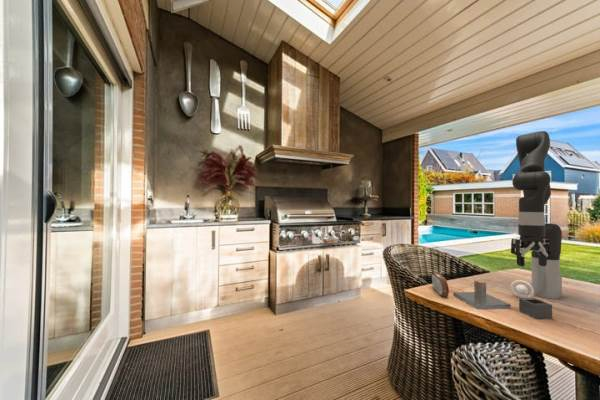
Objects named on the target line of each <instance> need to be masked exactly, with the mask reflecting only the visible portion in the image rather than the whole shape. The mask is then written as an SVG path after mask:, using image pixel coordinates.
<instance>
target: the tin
mask: <svg viewBox="0 0 600 400" xmlns="http://www.w3.org/2000/svg"><path fill="white" fill-rule="evenodd" d="M431 284H432V288H433V290H434V291H435V292H436V293H437V294H438V295H439V296H440V297H448V296H449V292H450V291H449V290H450V289H449V288H450V287H449V284H448V281H447V279H446V277H444V276H443V275H442V274H441V273H439V272H433V273H432V274H431Z"/></svg>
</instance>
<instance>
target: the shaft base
mask: <svg viewBox="0 0 600 400" xmlns="http://www.w3.org/2000/svg"><path fill="white" fill-rule="evenodd" d="M473 281H474V282H473V283H474V285H473V286H474V291H466V292H465V291H464V292H463V291H461V292H460V291H459V292H458V291H457V292H453V297H454V298H457V299H459V300H460V301H463V303H464V302H465V303H466V304H468V305H470V306H471V307H474V308H475V309H477V310H486V309H488V310H489V309H490V310H491V309H492V310H493V309H494V310H495V309H511V308H512V307H511V305H512V304H510V303H508V302H506V301H503V300H502V299H500V298H497V297H495V296H493V295H491V294H488V293H487V282H485V281H481V280H477V279H476V280H473Z"/></svg>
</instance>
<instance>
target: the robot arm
mask: <svg viewBox="0 0 600 400" xmlns="http://www.w3.org/2000/svg"><path fill="white" fill-rule="evenodd" d="M550 139H551V138H550V135H549V133H548V132H547V131H545V130H541V131H535V132H530V133H524V134H520V135H518V136H517V137H516V139H515V146H516V152H517V157H518V163H519V167H520V168H519V170H518V171H517V172H516V173H515V175H514V176H513V177H512V186H513V188H514V189H515V190H517V191H522V194H523V197H520V198H519V200H518V217H517V218H518V219H517V221H518V222H517V225H518V227H517V230H518V235H519V238H511V243H510V244H511V245H510V253H511V255H515V257H516V264H517V266H519V267H522V268H523V267H525V264H526V263H525V259H526V258H525V255H526V254H527V253H529V252H531V253H530V254H531V286H532V287H533V289H534V295H536V296H538V297H541V298H546V299H551V300H552V299H553V300H558V299H560V298H563V281H562V280H563V278H562V275H561V273H560V272H561V267H560V265H561V263H560V259H561V258H560V257H561V252H562V241H563V240H562V238H563V232H562V228H561V227H560V226H559V224H556V223H547V222H546V217H545V205H546V204H547V202H548V201H549V199H550V198H551V195H552V190H551V182H552V181H551V180H552V178H551V175H550V174H549V173H548V172H547V171H544V170H545V160H546V157H547V155H548V154H549V153H548V152H549V150H550V148H551V140H550Z"/></svg>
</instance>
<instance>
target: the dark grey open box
mask: <svg viewBox="0 0 600 400" xmlns="http://www.w3.org/2000/svg"><path fill="white" fill-rule="evenodd" d="M518 302H519V303H518V307H519V308H518V311H519V312H520V313H522V314H524V315H526V316H529V317H531V318H532V319H535V320H542V319H543V320H546V319H548V320H549V319H553V304H552V303H548V302H545V301H544V300H542V299H538V298H535V297H531V298H520V297H518Z"/></svg>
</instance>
